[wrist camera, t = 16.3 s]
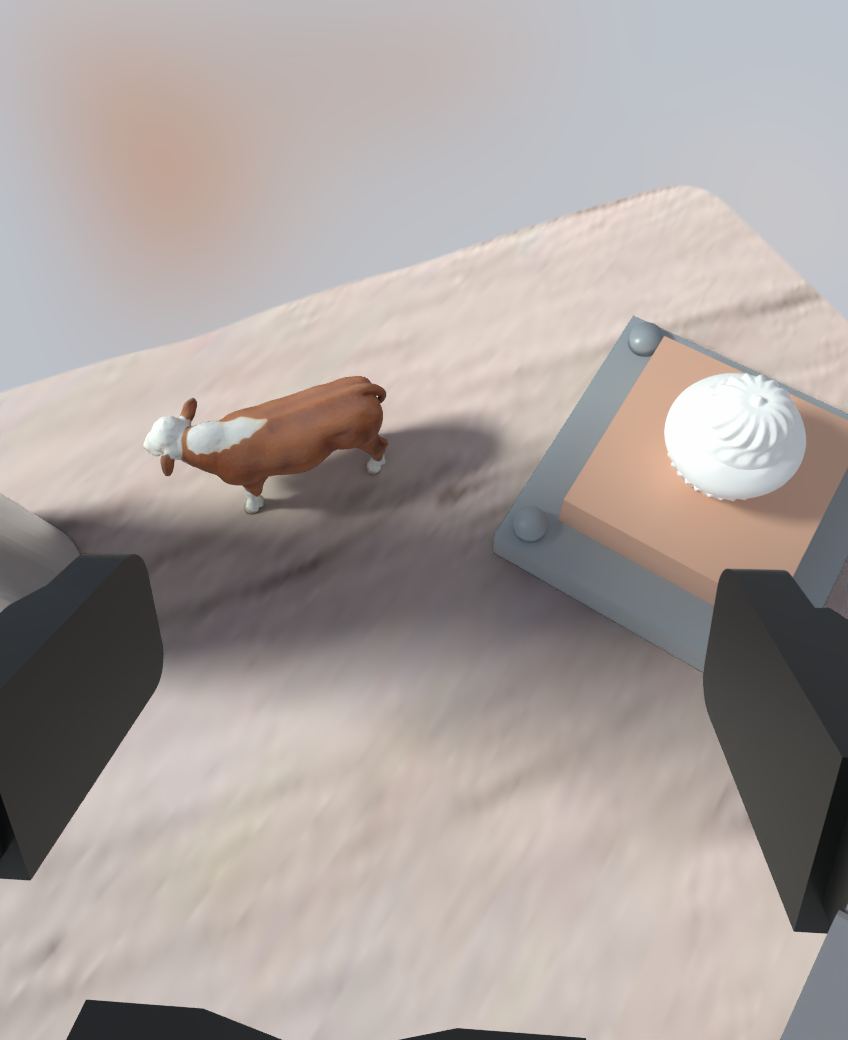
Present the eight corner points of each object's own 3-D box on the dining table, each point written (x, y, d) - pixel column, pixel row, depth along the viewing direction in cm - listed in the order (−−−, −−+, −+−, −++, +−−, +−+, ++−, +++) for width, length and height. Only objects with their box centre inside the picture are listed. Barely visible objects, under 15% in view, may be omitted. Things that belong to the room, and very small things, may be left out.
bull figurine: (181, 468, 46) (121, 404, 39) (392, 416, 46) (373, 342, 39) (189, 532, 45) (128, 479, 37) (407, 479, 45) (391, 415, 37)
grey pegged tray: (493, 552, 43) (494, 515, 37) (624, 344, 47) (643, 282, 41) (758, 704, 39) (804, 689, 33) (876, 462, 43) (935, 413, 37)
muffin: (746, 546, 36) (805, 491, 29) (628, 489, 37) (659, 424, 30) (795, 443, 37) (862, 369, 31) (680, 392, 39) (720, 311, 32)
